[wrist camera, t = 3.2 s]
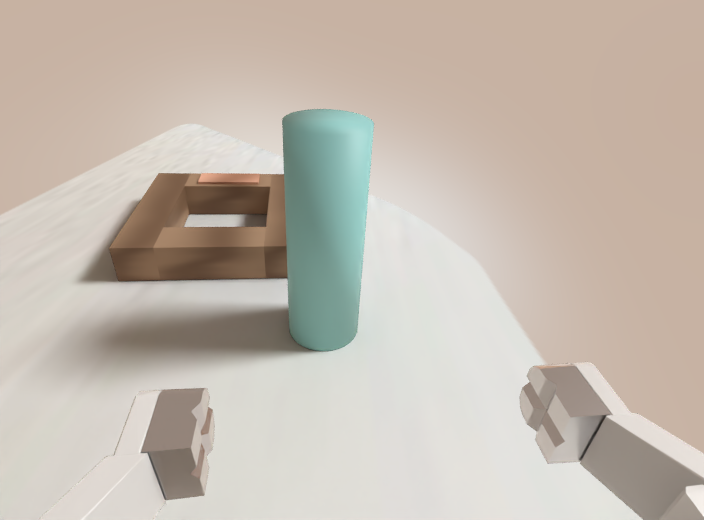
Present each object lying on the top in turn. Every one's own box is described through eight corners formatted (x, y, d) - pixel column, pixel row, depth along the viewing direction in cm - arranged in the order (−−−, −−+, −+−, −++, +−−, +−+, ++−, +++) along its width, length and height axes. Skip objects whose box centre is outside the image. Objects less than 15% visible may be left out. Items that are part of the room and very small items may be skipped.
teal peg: (289, 352, 24) (281, 134, 17) (289, 305, 27) (283, 108, 20) (361, 349, 24) (380, 136, 18) (353, 303, 28) (367, 110, 21)
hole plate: (118, 280, 28) (108, 245, 27) (164, 200, 38) (158, 171, 37) (304, 277, 30) (304, 243, 28) (301, 200, 40) (301, 172, 38)
